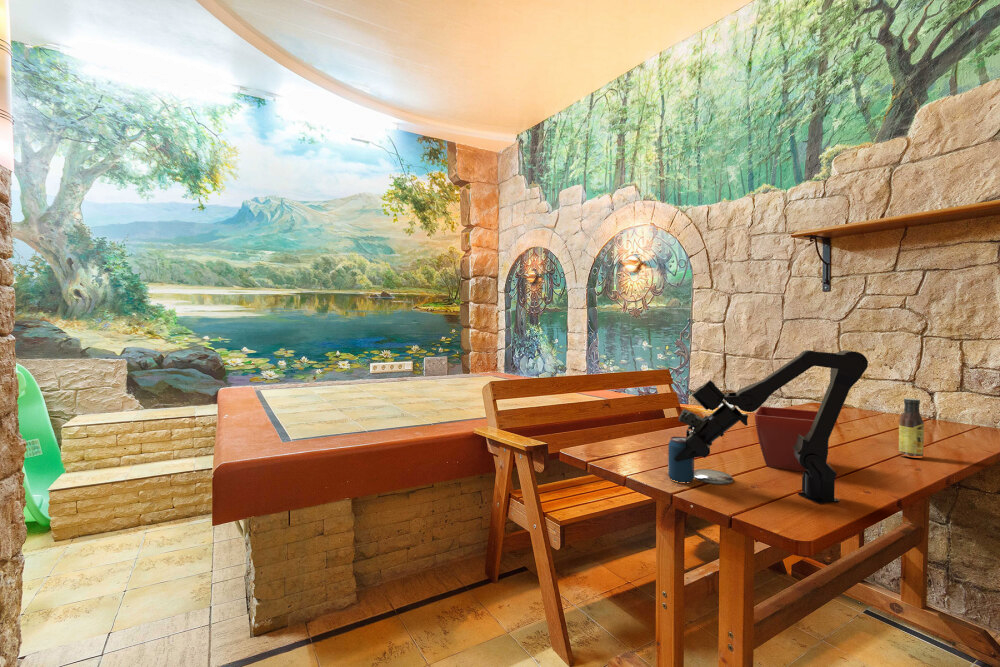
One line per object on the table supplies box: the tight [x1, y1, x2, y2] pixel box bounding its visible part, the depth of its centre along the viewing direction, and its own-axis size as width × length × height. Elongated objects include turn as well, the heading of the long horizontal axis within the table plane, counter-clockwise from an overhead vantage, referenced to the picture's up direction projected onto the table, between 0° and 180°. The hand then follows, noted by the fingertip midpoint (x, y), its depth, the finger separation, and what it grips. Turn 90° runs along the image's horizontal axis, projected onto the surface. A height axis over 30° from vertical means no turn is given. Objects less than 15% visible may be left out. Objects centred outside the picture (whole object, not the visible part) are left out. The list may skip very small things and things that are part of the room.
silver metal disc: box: [694, 468, 734, 486], centre depth 131 cm, size 11×11×1 cm
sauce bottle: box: [898, 398, 925, 456], centre depth 152 cm, size 7×6×20 cm
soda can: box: [667, 436, 695, 484], centre depth 129 cm, size 7×7×12 cm
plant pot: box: [754, 406, 818, 473], centre depth 143 cm, size 19×19×17 cm
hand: (675, 456), depth 129 cm, fingers closed on soda can, 7 cm apart
